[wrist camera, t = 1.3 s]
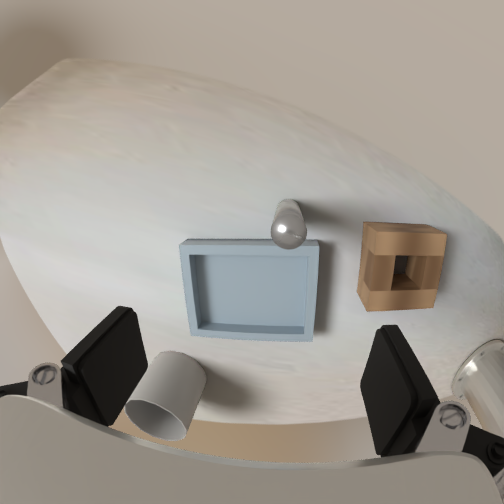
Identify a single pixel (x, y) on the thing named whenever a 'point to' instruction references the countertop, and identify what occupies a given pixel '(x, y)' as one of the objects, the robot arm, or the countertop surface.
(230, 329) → the tray
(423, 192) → the countertop surface
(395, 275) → the bore block
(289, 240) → the pin
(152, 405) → the cup
